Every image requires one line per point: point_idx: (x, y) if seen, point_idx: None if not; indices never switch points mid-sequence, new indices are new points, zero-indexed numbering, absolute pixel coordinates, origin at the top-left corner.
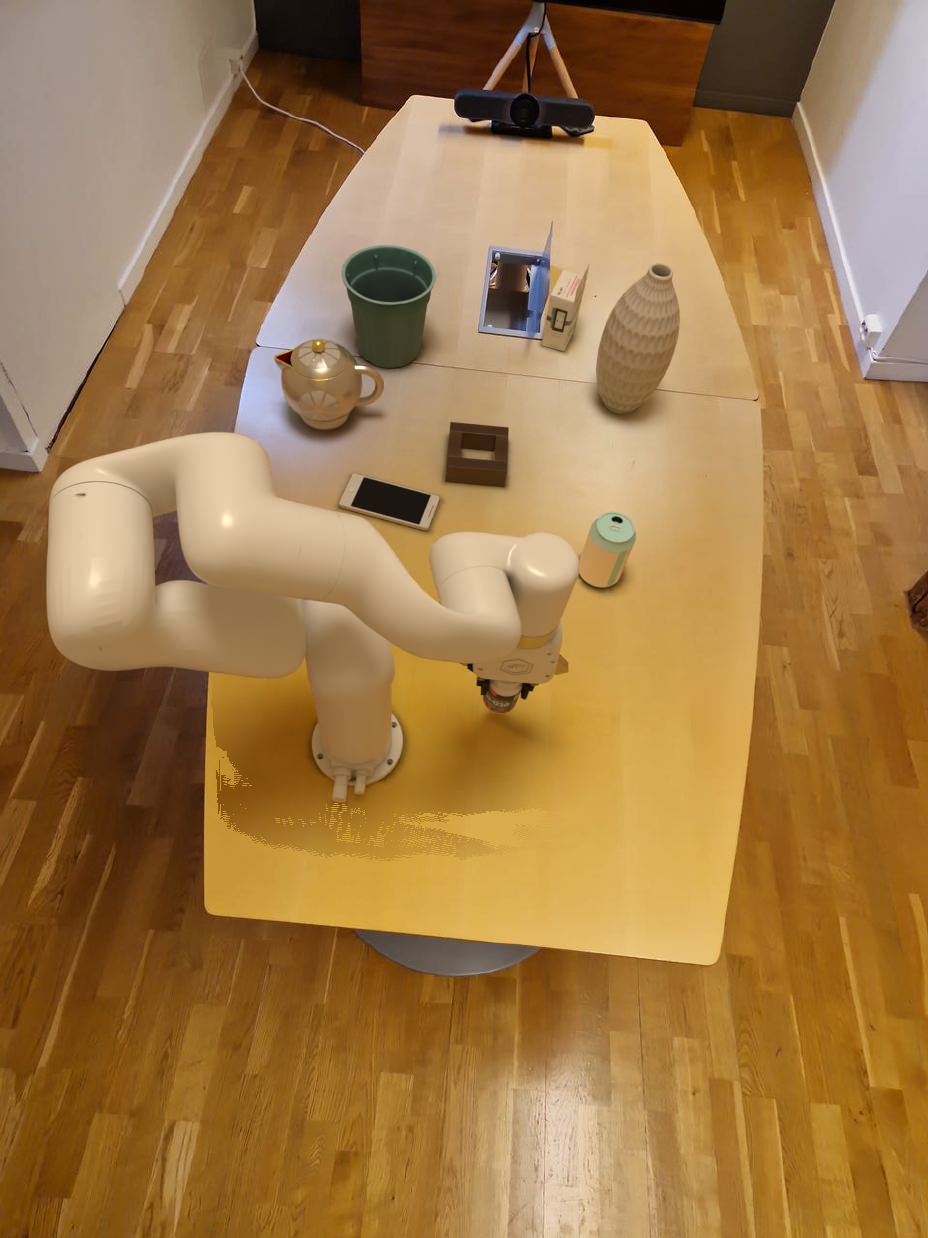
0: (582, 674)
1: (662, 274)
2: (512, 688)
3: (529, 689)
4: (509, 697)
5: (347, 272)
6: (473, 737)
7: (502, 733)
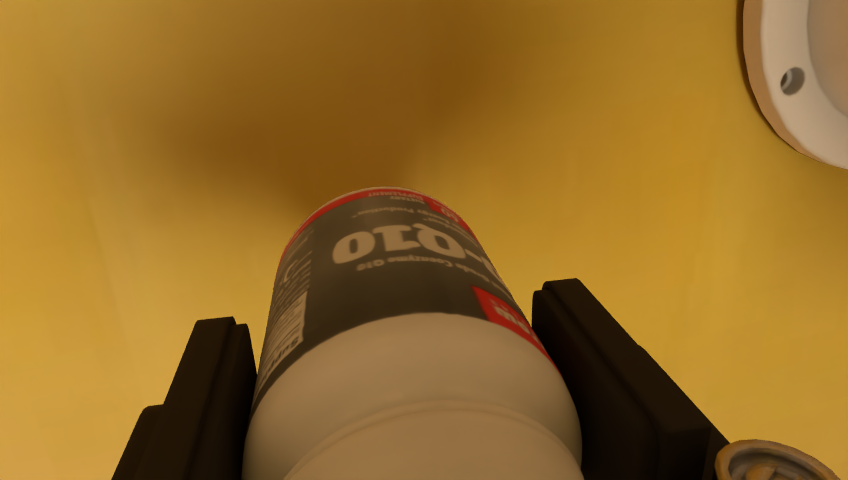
0: (3, 464)
1: None
2: (362, 435)
3: (145, 464)
4: (358, 312)
5: None
6: (442, 89)
7: (313, 130)
